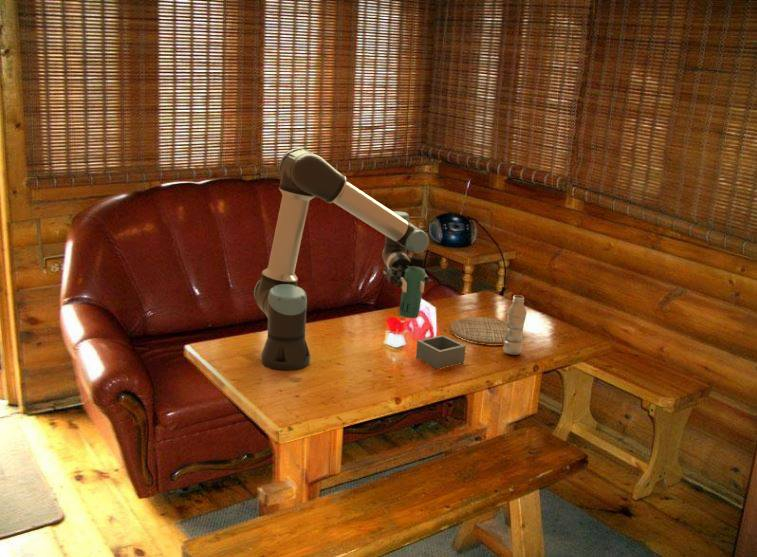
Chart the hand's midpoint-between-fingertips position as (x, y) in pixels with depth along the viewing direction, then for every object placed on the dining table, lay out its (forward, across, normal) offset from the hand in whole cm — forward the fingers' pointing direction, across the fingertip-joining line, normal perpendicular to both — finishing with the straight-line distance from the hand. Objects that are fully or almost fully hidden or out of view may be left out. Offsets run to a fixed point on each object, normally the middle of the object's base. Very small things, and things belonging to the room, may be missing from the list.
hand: (414, 287), depth 244 cm
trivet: (-36, -36, -28) cm, 58 cm away
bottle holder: (-11, -13, -28) cm, 33 cm away
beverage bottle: (-5, 0, -12) cm, 13 cm away
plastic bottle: (-17, -39, -28) cm, 51 cm away
